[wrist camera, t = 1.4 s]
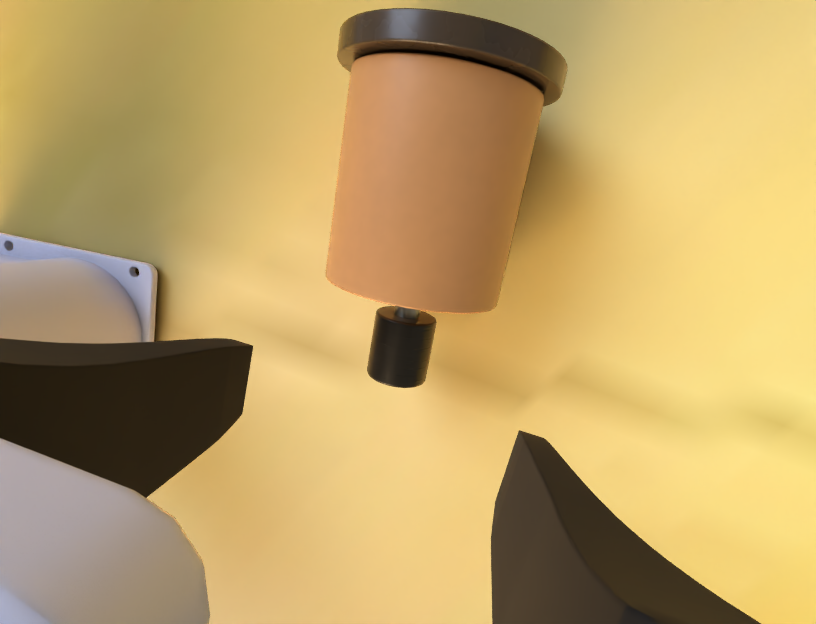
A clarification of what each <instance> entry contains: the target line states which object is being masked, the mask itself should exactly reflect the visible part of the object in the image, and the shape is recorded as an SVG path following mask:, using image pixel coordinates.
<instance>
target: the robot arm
mask: <svg viewBox="0 0 816 624" xmlns="http://www.w3.org/2000/svg"><path fill="white" fill-rule="evenodd" d="M12 244H13V247H12ZM136 268H137V269H138V270H139V275H137V274H136V272H135V269H136ZM157 279H158V273H157V270H156V268H155V267H154V266H153V265H152V264H149V263H145V262H140V261H135V260H130V259H126V258H121V257H116V256H111V255H106V254H101V253H97V252H92V251H87V250H82V249H77V248H72V247H67V246H63V245H58V244H53V243H48V242H43V241H38V240H34V239H29V238H24V237H19V236H14V235H9V234H5V233H0V624H209V618H210V612H209V603H208V595H207V587H206V579H205V571H204V565H203V561H202V559H201V557H200V556H199V554H198V552H197V551H196V549H195V548H194V546H193V545H192V543H191V542H190V540H189V539H188V537H187V535H186V534H185V532H184V531H183V529H182V528H181V526H180V525H179V523H178V522H177V520H176V518H175V517H173V516H172V515H170V514H169V513H167V512H166V511H164V510H163V509H161V508H160V507H158V506H157V505H155V504H154V503H152V502H151V501H149V500H148V499H146V497H148V496H149V495H150V494H151V493H153V492H154V491H155V490H156V489H158V488H159V487H160V486H161V485H163V484H164V483H165V482H167V481H168V480H169V479H170V478H172V477H173V476H174V475H175V474H177V473H178V472H179V471H180V470H182V469H183V468H184V467H186V466H187V465H188V464H189V463H191V462H192V461H193V460H194V459H196V458H197V457H198V456H199V455H201V454H202V453H203V452H204V451H206V450H207V449H208V448H209V447H211V446H212V445H213V444H214V443H215V442H216V441H218V440H219V439H220V438H221V437H222V436H223V435H224V434H225V433H226V431H227V430H228V429H229V428H230V427H231V426H232V425H233V424H234V423H235V422H236V421H237V419H238V418H239V417H240V416H241V415H242V412H243V406H244V399H245V393H246V387H247V381H248V375H249V369H250V362H251V356H252V350H253V346H252V345H249V344H245V343H242V342H239V341H236V340H232V339H219V338H213V339H189V340H173V341H157V342H154V332H155V315H156V297H157ZM491 571H492V619H493V624H761V623H759V622H758V621H756V620H755V619H753V618H751V617H750V616H748V615H747V614H745V613H743V612H742V611H740V610H739V609H737V608H735V607H734V606H732V605H731V604H729V603H728V602H726V601H724V600H723V599H721V598H720V597H719V596H717V595H716V594H714V593H713V592H711V591H710V590H708V589H707V588H705V587H704V586H702V585H701V584H699V583H698V582H697V581H695V580H694V579H692V578H691V577H690V576H688V575H687V574H686V573H684V572H683V571H682V570H680V569H679V568H678V567H676V566H675V565H673V564H672V563H671V562H669V561H668V560H667V559H665V558H664V557H663V556H662V555H660V554H659V553H658V552H657V551H655V550H654V549H653V548H652V547H650V546H649V545H648V544H647V543H646V542H644V541H643V540H642V539H641V538H640V537H639V536H638V535H636V534H635V533H634V532H633V531H632V530H631V529H629V528H628V527H627V526H626V525H625V524H624V523H623V522H622V521H621V520H619V519H618V518H617V517H616V516H615V515H614V514H613V513H612V512H611V511H610V510H609V509H608V508H607V507H606V506H605V505H604V504H603V503H602V502H601V501H600V500H599V499H598V498H597V497H596V496H595V495H594V494H593V492H592V491H591V490H590V489H589V488H588V487H587V486H586V485H585V484H584V483H583V481H582V480H581V479H580V478H579V477H578V476H577V475H576V474H575V472H574V471H573V470H572V469H571V468H570V467H569V465H568V464H567V463H566V462H565V461H564V459H563V458H562V457H561V456H560V455H559V454H558V452H557V451H556V450H555V449H554V448H553V447H552V445H551V444H550V443H549V442H548V441H547V440H546V439H544V438H542V437H538V436H535V435H532V434H529V433H526V432H523V431H520V430H519V432H518V435H517V438H516V441H515V444H514V447H513V450H512V453H511V456H510V459H509V462H508V465H507V468H506V471H505V474H504V477H503V480H502V483H501V486H500V489H499V492H498V495H497V498H496V501H495V509H494V517H493V525H492V535H491Z"/></svg>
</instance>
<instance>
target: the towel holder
mask: <svg viewBox="0 0 816 624" xmlns="http://www.w3.org/2000/svg"><path fill="white" fill-rule="evenodd" d="M337 57H338V60H339V62H340V63H341V65H342V66H343V67H344V68H345V69H347V70H348V71H349V72H351V74H350V82H349V90H348V98H347V106H346V114H345V122H344V130H343V138H342V146H341V154H340V162H339V170H338V178H337V186H336V194H335V202H334V210H333V218H332V226H331V234H330V242H329V250H328V259H327V267H326V278H327V279H328V281H330V282H331V283H332V284H334V285H335V286H337V287H339V288H341V289H343V290H345V291H347V292H350V293H352V294H355V295H358V296H361V297H364V298H367V299H370V300H374V301H378V302H382V303H386V304H390V305H395V306H388V307H382V308H379V309H378V310H377V311H376V317H375V323H374V329H373V336H372V342H371V348H370V354H369V361H368V367H367V371H368V374H369V376H370V377H371V378H373V379H374V380H376V381H378V382H380V383H382V384H385V385H389V386H393V387H401V388H411V387H416V386H419V385H421V384H423V383H424V381H425V379H426V374H427V368H428V363H429V358H430V353H431V348H432V343H433V338H434V333H435V328H436V319H435V318H434V317H433V316H431V315H429V314H427V313H425V312H423V311H431V312H441V313H458V314H468V313H480V312H486V311H490V310H492V309H494V308H495V307H496V305H497V303H498V298H499V294H500V290H501V285H502V281H503V277H504V272H505V268H506V264H507V259H508V255H509V251H510V246H511V242H512V238H513V233H514V229H515V225H516V220H517V216H518V212H519V207H520V203H521V199H522V194H523V190H524V186H525V181H526V177H527V173H528V168H529V164H530V160H531V155H532V151H533V147H534V142H535V138H536V134H537V129H538V125H539V121H540V116H541V112H542V108H543V106H547V105H550V104H552V103H554V102H556V101H557V100H558V99H559V98H560V96H561V94H562V91H563V87H564V83H565V78H566V74H567V63H566V61H565V59H564V57H563V56H562V55H561V54H560V53H559V52H558V51H557V50H556V49H555V48H553V47H552V46H550V45H549V44H547V43H546V42H544V41H543V40H541V39H539V38H537V37H535V36H533V35H531V34H528V33H526V32H523V31H521V30H519V29H516V28H513V27H510V26H507V25H504V24H501V23H498V22H495V21H491V20H487V19H484V18H479V17H475V16H470V15H465V14H460V13H454V12H447V11H439V10H430V9H414V8H392V9H380V10H374V11H368V12H364V13H360V14H357V15H355V16H353V17H351V18H349V19H347V20H346V21H345V22H344V23H343V25H342V26H341V28H340V35H339V44H338V53H337ZM421 310H423V311H421Z"/></svg>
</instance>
